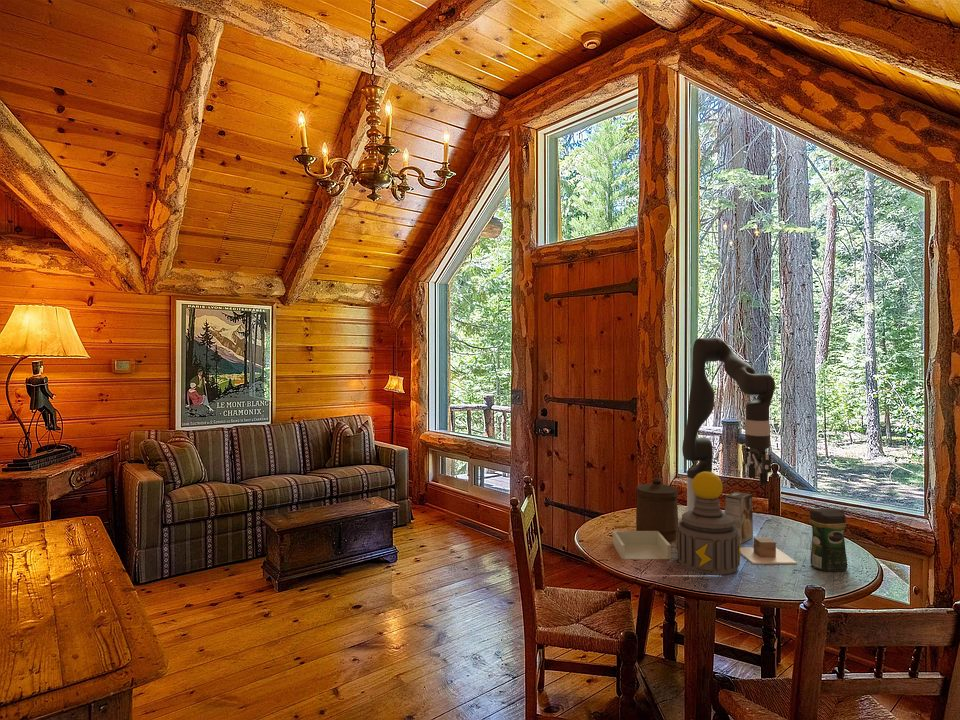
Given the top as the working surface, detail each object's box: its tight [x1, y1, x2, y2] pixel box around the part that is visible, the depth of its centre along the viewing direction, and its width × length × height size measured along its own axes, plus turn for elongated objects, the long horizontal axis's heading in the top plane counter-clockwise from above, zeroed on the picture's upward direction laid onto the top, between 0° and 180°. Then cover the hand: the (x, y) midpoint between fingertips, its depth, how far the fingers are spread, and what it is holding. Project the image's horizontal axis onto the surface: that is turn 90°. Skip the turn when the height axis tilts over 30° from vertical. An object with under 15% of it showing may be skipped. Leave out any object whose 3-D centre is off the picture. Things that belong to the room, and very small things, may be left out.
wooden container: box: [635, 476, 679, 543], centre depth 209 cm, size 15×15×22 cm
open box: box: [612, 530, 672, 560], centre depth 193 cm, size 15×16×5 cm
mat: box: [740, 547, 798, 565], centre depth 188 cm, size 14×14×1 cm
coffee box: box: [724, 491, 754, 544], centre depth 206 cm, size 9×6×16 cm
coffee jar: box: [809, 507, 848, 572], centre depth 177 cm, size 10×8×19 cm
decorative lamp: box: [675, 471, 741, 576], centre depth 180 cm, size 19×19×30 cm
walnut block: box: [753, 536, 777, 557], centre depth 188 cm, size 5×5×5 cm
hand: (757, 481), depth 190 cm, fingers open, 8 cm apart
